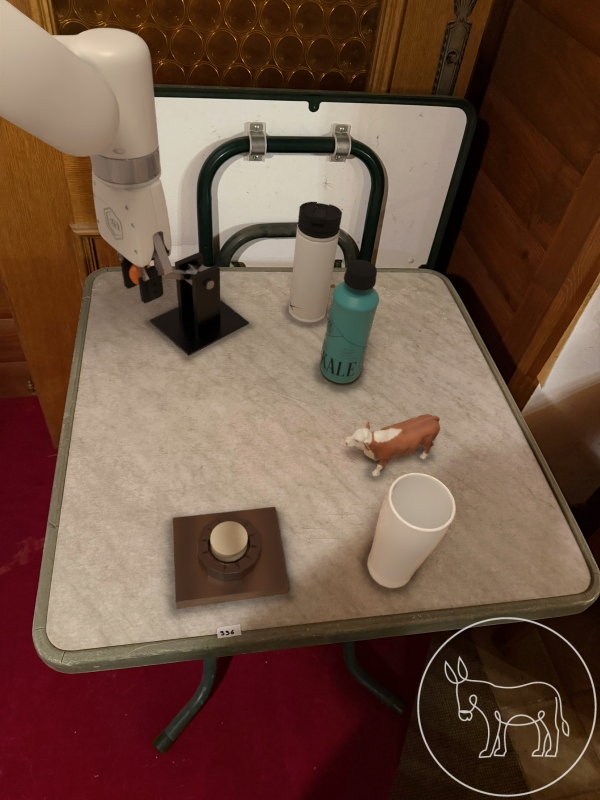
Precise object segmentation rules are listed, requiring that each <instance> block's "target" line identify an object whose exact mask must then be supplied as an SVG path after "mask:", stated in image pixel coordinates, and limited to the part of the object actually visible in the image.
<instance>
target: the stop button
mask: <svg viewBox="0 0 600 800" xmlns="http://www.w3.org/2000/svg"><path fill="white" fill-rule="evenodd" d="M247 543H248V535H247V532H246V530H245V528H244V527H243V526H242V525H240V524H239V523H237V522H233V521H227V522H223V523H220V524H219V525H217V526H216V527H215V528H214V529H213V531H212V533H211V537H210V544H211V551H212V553H213V555H214V556H215V557H216V558H217V559H219V560H221V561H224V562H232V561H236V560H238V559H240V558H241V557H242V556H243V555H244V554H245V552H246V550H247Z"/></svg>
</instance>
